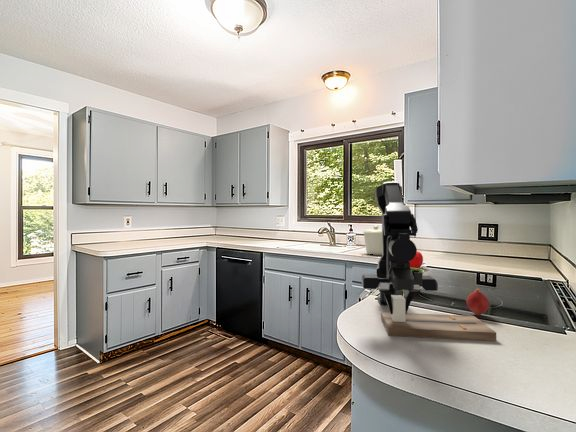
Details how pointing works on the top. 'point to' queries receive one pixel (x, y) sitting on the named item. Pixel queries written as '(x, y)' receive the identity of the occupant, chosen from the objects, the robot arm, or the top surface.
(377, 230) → the canister
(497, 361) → the top surface
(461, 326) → the fader console
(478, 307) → the onion
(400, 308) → the fader knob
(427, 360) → the top surface
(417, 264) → the tomato
